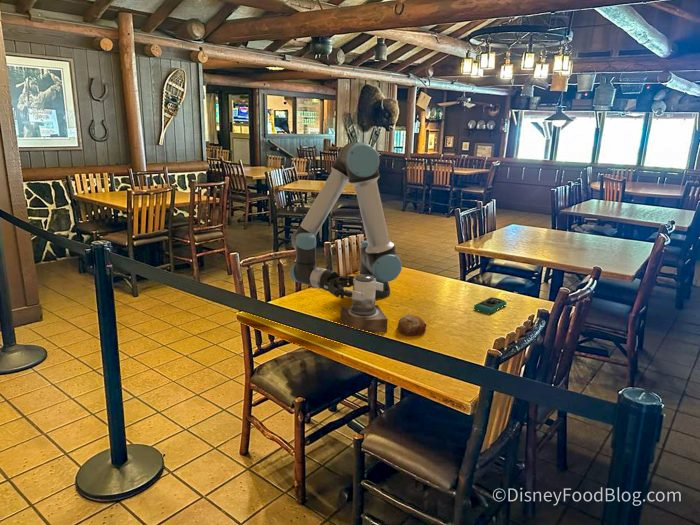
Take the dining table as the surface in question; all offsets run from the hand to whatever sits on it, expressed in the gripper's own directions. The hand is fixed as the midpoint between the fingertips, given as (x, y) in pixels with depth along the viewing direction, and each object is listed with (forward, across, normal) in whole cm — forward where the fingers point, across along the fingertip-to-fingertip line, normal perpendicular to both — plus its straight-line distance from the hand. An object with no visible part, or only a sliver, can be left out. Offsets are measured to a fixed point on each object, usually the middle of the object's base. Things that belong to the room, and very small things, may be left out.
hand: (372, 291), depth 175 cm
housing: (-3, 0, -8) cm, 9 cm away
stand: (-3, 0, -14) cm, 14 cm away
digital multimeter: (+25, -50, -14) cm, 57 cm away
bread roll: (+12, -7, -14) cm, 20 cm away
